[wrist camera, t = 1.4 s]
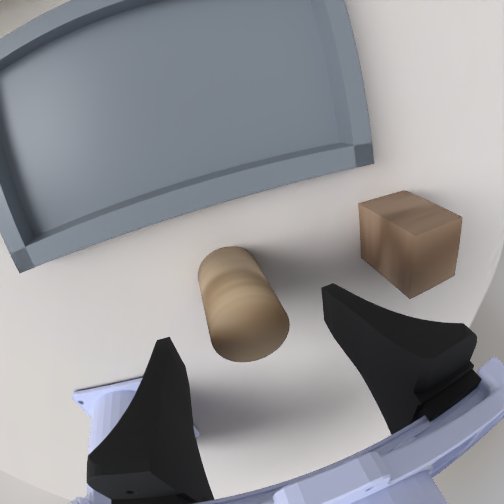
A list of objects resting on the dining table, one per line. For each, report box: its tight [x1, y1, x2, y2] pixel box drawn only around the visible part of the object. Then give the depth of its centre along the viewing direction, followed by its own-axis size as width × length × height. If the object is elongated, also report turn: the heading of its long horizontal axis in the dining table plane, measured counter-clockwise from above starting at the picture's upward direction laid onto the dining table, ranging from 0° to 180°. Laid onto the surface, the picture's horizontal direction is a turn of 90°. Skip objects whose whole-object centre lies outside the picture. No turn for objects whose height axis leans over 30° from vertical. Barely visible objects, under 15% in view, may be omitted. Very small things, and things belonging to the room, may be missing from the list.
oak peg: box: [198, 247, 290, 362], centre depth 16 cm, size 4×4×6 cm
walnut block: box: [358, 191, 462, 299], centre depth 17 cm, size 4×4×6 cm
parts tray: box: [0, 0, 374, 273], centre depth 12 cm, size 12×20×2 cm, turn 102°
